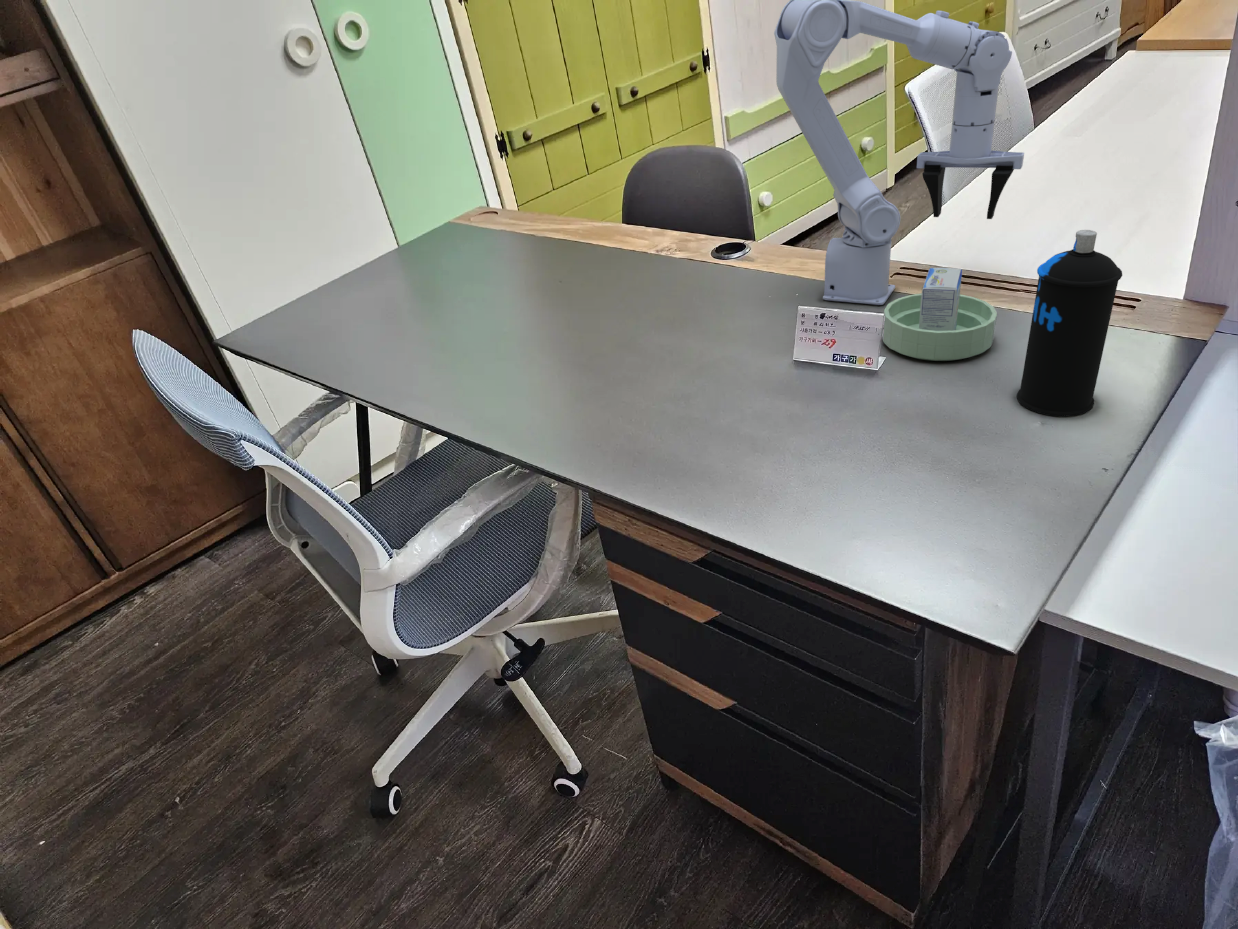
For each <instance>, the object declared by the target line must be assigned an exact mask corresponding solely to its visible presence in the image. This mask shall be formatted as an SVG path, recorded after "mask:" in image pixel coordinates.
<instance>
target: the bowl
mask: <svg viewBox="0 0 1238 929" xmlns="http://www.w3.org/2000/svg"><path fill="white" fill-rule="evenodd" d="M921 294H922V292H921V293H915V294H909V295H905V296H902V297H899V298H896V299H894V300H892V301H890V302H889V303H888V304H887V305H886V306H885V308H884V309H883V317H884V316H885V321H884V334H883V337H882V342H883V344H885V345H886V347H888V348H889V350H893V351H895V352H896V353H899V354H901V355H903V356H907V357H909V358H913V359H917V360H923V361H934V362H947V361H948V362H949V361H958V360H962V359H963V360H964V359H967V358H968V359H969V358H971V357H975V356H977V355H980V354H983V353H985V352H986V351H988V350H989V349H990V348H991V347H992V345H993V343H994V340H995V333H996V325H997V318H998V313H997V310H996V308H995V306H993V305H991V303H989V302H987V301H986V300H983V299H980V298H977V297H975V296H970V295H965V294H961V293H960V297H959V306H958V316H957V325H956V330H954V331H934V330H924V329H919V319H920V306H921Z"/></svg>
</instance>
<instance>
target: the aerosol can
mask: <svg viewBox="0 0 1238 929" xmlns="http://www.w3.org/2000/svg"><path fill="white" fill-rule="evenodd" d="M1097 235H1098V233H1097V232H1096V231H1095V230H1092V229H1081V230H1077V231H1076V232H1075V241H1074V244H1073V248H1072V249H1070V250H1066V251H1065V250H1064V251H1061V252H1059V253H1056V254H1054V255H1052V256H1051V257H1050V258H1048V259H1046V261H1045V262H1043V263H1042V264H1040V265H1039V266H1038V267H1037V270H1036V272H1037V275H1038V280H1037V286H1036V292H1035V298H1034V304H1033V310H1032V314H1031V316H1032V317H1031V322H1030V328H1029V333H1028V334H1029V335H1028V341H1027V345H1026V346H1027V347H1026V351H1025V358H1024V363H1023V369H1022V370H1023V371H1022V375H1021V376H1022V377H1021V382H1020V388H1019V389H1018V391H1017V393H1016V399H1017V401H1018V402H1019V404H1020V405H1022V407H1024V408H1025V409H1028V410H1030V411H1032V412H1035V413H1038V414H1041V415H1046V416H1052V417H1075V416H1079V415H1082V414H1085V413H1087V412H1089V411H1091V410H1092V409H1093V408H1094V406H1095V398H1094V394H1095V391H1096V387H1097V386H1096V385H1097V382H1098V376H1099V373H1100V372H1099V371H1100V366H1101V362H1102V357H1103V353H1104V348H1105V344H1106V339H1107V335H1108V331H1109V325H1110V322H1111V321H1110V320H1111V316H1112V312H1113V307H1114V302H1115V299H1116V293H1117V288H1118V283H1119V280H1121V279H1122V277H1123V271H1122V269H1121V267H1119V266H1118V265H1117V264H1116V263H1115V262H1114V261H1113V259H1112V258H1110V256H1107V255H1106V254H1103V253H1101V252H1099V251H1096V250H1095V244H1096V239H1097Z"/></svg>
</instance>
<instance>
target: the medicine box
mask: <svg viewBox="0 0 1238 929" xmlns="http://www.w3.org/2000/svg"><path fill="white" fill-rule="evenodd" d="M962 277H963V269H962V268H956V267H930V268H929V269H928V271H927V275H926V277H925V281H924V283H923V286H922V289H921V293H922V294H921V293H920V294H921V306H920V319H919V329H924V330H934V331H954V330H956V325H957V316H958V306H959V297H960V294H961V287H962Z"/></svg>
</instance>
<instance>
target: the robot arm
mask: <svg viewBox="0 0 1238 929" xmlns="http://www.w3.org/2000/svg"><path fill="white" fill-rule="evenodd" d="M949 16H950V12H947V11H944V10H936V11H935V13H932V12H928V13H926V14H924V15H923V16H921V17H919V18H918V19H914V18H911V17H907V16H905V15H902V14H900V13H896V12H894V11H890V10H887V9H884V8H881V7H878V6H877V5H873V4H869V3H867V2H864V1H862V0H861V1H860V0H789V1H788V2H787V3H786V4H785V5H784V7H783V8H782V10H781V13H780V15H779V18H778V20H777V23H776V26H775V29H774V32H773V35H774V40H775V45H776V77H775V78H776V79H775V80H776V87H777V89H778V91H779V93H780V95H781V98H782V99H783V101H784V102H785V104H786V106H787V107H788V108H787V109H789V111H790V113H791V115H792V117H793V119H794V120H795V123H796V124H797V125H798V127H799V129H800V131H801V133H802V135H803V137H804V138H805V140H806V142H807V144H808V146H809V147H810V149H811V151H812V153H813V155H814V156H815V158H816V160H817V162H818V164H819V165H820V167H821V169H822V171H823V172H824V174H825V177H826V178H827V179H828V182H829V183H830V185H831V187H832V189H833V194H832V196H833V198H834V200H835V202H836V205H837V217H838V221H839V222H840V224H841V225H842V226H843V227H844V230H843V233H842V237H832V238H831V239H830V240H829V242H828V245H827V247H826V252H825V259H824V261H825V262H824V290H823V293H824V294H823V296H822V300H824V301H830V302H831V301H832V302H843V303H853V304H862V305H863V304H864V305H874V306H883V305H885V304H886V302H887V301H888V299H889V298H890V296H891V295H892V293H893V292H894V291H895V289H896V285H895V284H890V283H889V282H890V281H889V280H890V266H891V253H892V240H893V239H892V238H894V236H895V235H896V234H897V232H898V230H899V228H900V225H901V213H900V210H899V209H898V207H897V206H896V205H895V204H893V203H892V202H890V201H888V200H887V199H886V198H885V197H884V195H883V193H882V191H881V189H879V188H878V187H877V185H876V184H875V182H874V181H873V180H872V179H871V178H870V176H869V175H868V174H867V172H866V170H865V167H864V166H863V164H862V163H861V161H860V158H859V156H858V154H857V152H856V150H855V149H854V147H853V145H852V142H850V140H849V137H848V135H847V134H846V132H845V130H844V128H843V126H842V124H841V123H840V120H839V119H838V117H837V114H836V113H835V111H834V109H833V107H832V105H831V103H830V102H829V100H828V98H827V96H826V94H825V92H824V90H823V88H822V87H821V84H820V82H819V80H820V77H821V75H822V71H823V69H824V66H825V64H826V62H827V60H829V58H830V57H831V54H832V53H833V52H834V50H835V49H836V47H837V46H838V45H839V43H840V41H841V40H842V39H843V40H844V39H845V40H850V39H852V38H854V37H856V36H857V35H859V34H864V35H867V36H871V37H875V38H878V39H882V40H886V41H891V42H894V43H898V44H902V45H905V46H906V47H907V51H908V53H909V56H910V57H911V58H912V59H915V60H918V61H922V62H924V63H928V64H932V65H935V66H939V67H942V68H945V69H949V70H954V72H956V79H955V88H954V100H953V109H952V118H951V119H952V121H951V132H950V140H949V141H950V142H949V143H950V144H949V150H942V151H940V150H939V151H927V152H926V151H923V152H922V151H921V152H920V153H918V155H917V159H916V169H923V172H922V174H921V175H922V179H923V181H924V183H925V185H926V187H927V190H928V194H929V196H930V201H931V205H932V212H933V213H932V214H933V218H939V217H940V215H941V214H942V207H943V188H944V181H945V173H946V169H947V168H954V169H955V168H956V169H957V168H958V169H959V168H963V169H964V168H966V169H967V168H970V169H972V168H973V169H974V168H978V169H994V170H993V171H992V173H991V181H990V182H991V183H990V196H989V202H988V208H987V212H986V220H992V219H993V218H994V216H995V212H996V207H997V205H998V202H999V199H1000V197H1001V195H1002V193H1003V190H1004V188H1005V186H1006V184H1007V182H1008V181H1009V179H1010V177H1011V176H1012V174H1013V173H1014V171H1015V170H1021V169H1022V168H1023V166H1024V158H1025V152H1024V151H1023V152H1022V151H1021V152H1020V151H1019V152H1016V151H1003V150H992V148H993V147H992V145H993V138H994V130H995V123H996V122H995V121H996V113H997V105H998V95H999V88H1000V87H999V86H1000V85H1001V78H1002V73H1003V72H1004V70H1005V69H1006V68H1007V67H1008V65H1009V63H1010V61H1011V58H1012V55H1013V51H1012V50H1010V46H1009V44H1010V43H1009V41H1008V39H1007V38H1005V35H1004V34H1003V33H1002V32H1000V31H996V30H988V29H980V28H979V26H980V23H979V22H976V21H971V20H970V21H969V22H968V23H966V22H963V21H960V20H955V19H952V18H950V17H949Z"/></svg>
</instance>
